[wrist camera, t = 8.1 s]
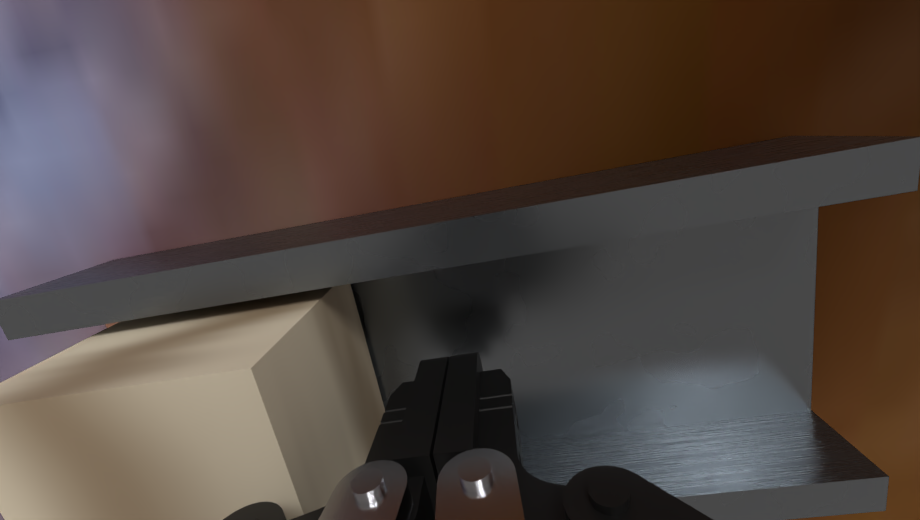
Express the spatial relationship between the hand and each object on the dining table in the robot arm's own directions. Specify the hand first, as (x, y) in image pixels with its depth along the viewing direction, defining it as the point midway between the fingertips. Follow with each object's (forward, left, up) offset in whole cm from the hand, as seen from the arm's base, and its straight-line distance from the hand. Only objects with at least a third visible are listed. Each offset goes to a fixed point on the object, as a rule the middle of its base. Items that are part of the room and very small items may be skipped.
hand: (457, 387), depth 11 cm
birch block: (+6, 0, -1) cm, 6 cm away
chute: (0, 0, -3) cm, 3 cm away
